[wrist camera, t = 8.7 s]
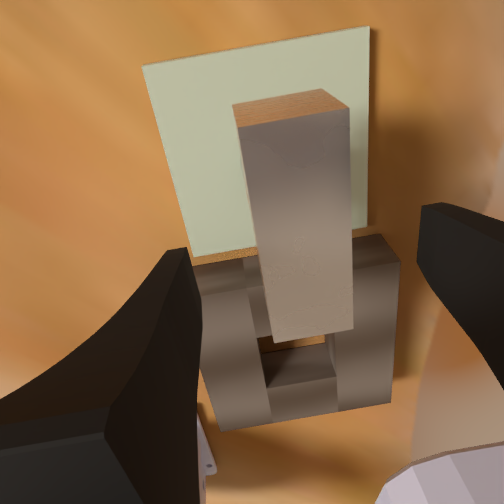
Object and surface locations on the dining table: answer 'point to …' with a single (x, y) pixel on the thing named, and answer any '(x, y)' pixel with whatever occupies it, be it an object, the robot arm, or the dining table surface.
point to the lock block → (302, 358)
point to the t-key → (300, 208)
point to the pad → (224, 130)
